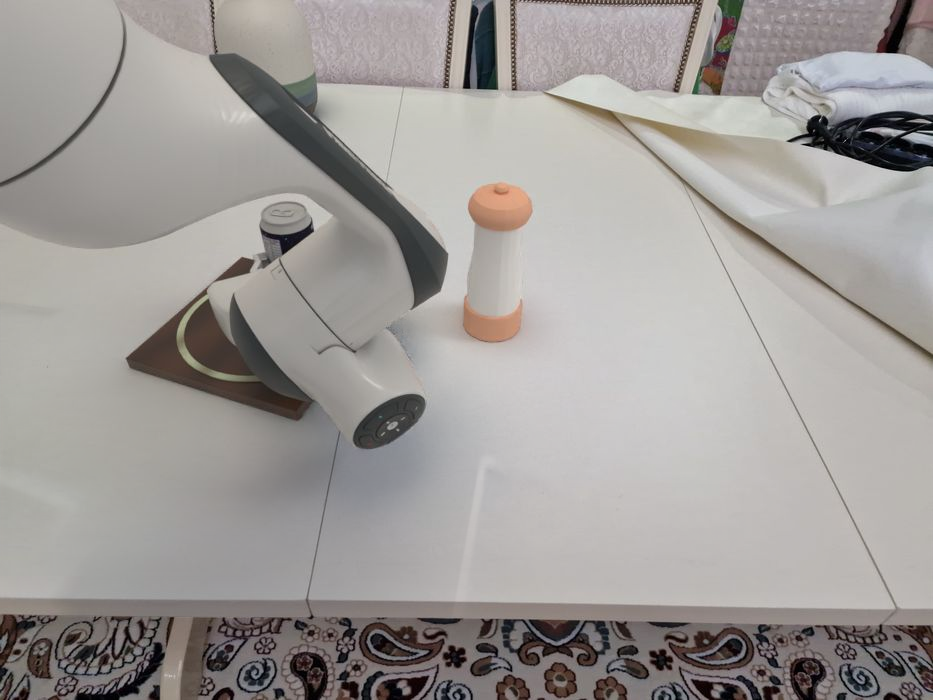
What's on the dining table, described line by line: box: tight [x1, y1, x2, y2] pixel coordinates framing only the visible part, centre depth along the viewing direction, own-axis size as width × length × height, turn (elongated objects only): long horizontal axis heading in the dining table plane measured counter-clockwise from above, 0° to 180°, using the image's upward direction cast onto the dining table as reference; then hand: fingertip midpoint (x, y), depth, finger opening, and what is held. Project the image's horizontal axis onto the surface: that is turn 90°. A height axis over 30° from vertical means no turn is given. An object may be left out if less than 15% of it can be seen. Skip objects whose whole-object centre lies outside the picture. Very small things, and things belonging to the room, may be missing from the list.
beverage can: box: [258, 200, 315, 264], centre depth 71 cm, size 6×6×12 cm
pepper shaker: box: [462, 182, 533, 343], centre depth 71 cm, size 7×7×19 cm
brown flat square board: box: [125, 256, 313, 422], centre depth 75 cm, size 22×22×2 cm
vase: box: [213, 0, 319, 114], centre depth 115 cm, size 17×17×24 cm
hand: (289, 251), depth 71 cm, fingers closed on beverage can, 5 cm apart
